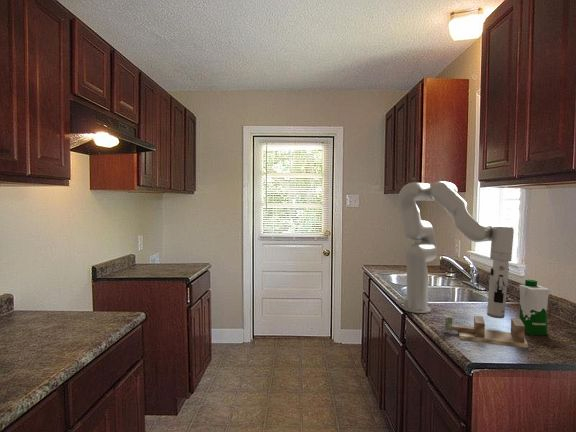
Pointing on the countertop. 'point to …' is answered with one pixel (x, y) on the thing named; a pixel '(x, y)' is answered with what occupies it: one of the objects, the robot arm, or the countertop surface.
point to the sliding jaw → (477, 329)
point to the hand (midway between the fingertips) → (497, 299)
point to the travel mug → (493, 307)
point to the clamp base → (501, 335)
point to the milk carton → (534, 307)
